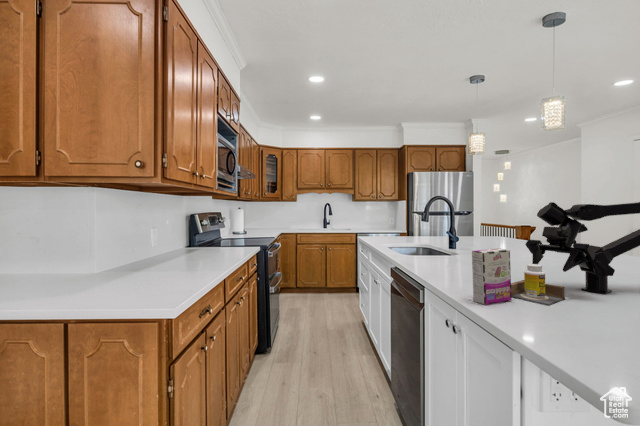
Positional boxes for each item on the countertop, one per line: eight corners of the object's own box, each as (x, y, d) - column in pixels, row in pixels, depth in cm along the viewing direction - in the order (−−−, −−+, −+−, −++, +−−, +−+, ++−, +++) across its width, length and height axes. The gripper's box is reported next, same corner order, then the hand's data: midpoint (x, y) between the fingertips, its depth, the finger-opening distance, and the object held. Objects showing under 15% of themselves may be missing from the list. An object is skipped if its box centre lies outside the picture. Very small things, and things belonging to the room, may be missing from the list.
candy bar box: (498, 297, 101) (497, 247, 101) (512, 301, 96) (511, 249, 96) (471, 301, 97) (471, 250, 97) (484, 305, 93) (484, 252, 93)
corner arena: (524, 291, 108) (524, 279, 108) (565, 299, 97) (565, 286, 97) (506, 296, 102) (506, 284, 102) (548, 305, 91) (548, 292, 91)
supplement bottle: (541, 299, 95) (540, 267, 95) (521, 295, 100) (521, 264, 100) (548, 296, 98) (548, 265, 98) (529, 293, 103) (528, 262, 103)
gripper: (528, 217, 112) (509, 249, 108) (589, 218, 95) (570, 256, 91) (541, 237, 116) (523, 269, 111) (603, 241, 99) (585, 279, 94)
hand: (548, 268), depth 102 cm, fingers open, 9 cm apart
